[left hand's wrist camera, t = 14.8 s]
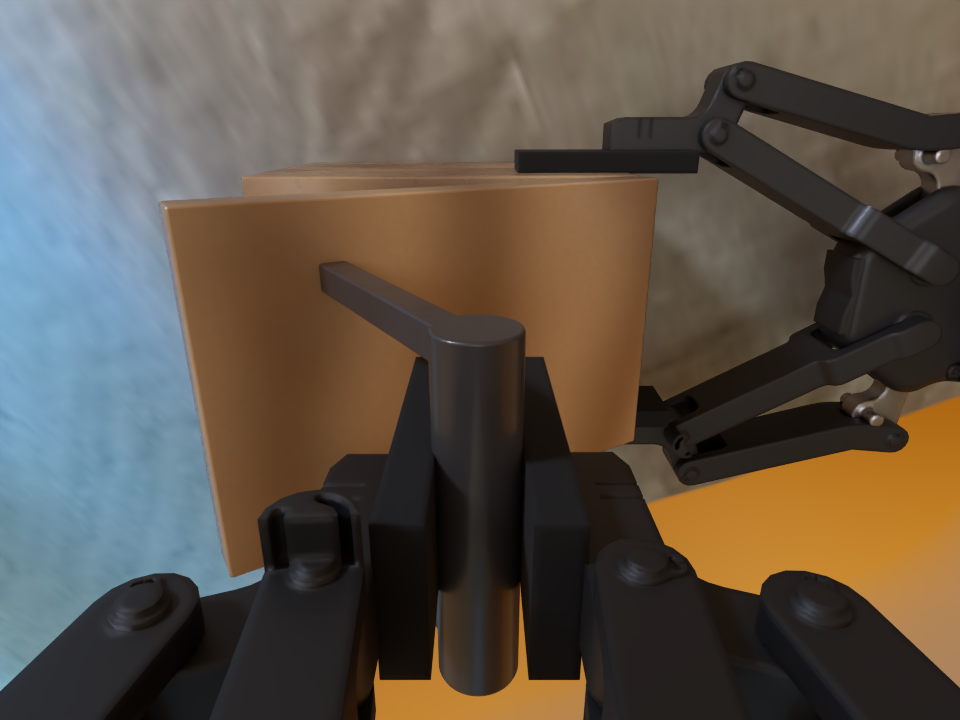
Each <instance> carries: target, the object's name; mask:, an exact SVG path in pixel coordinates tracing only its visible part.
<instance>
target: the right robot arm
mask: <svg viewBox="0 0 960 720" xmlns="http://www.w3.org/2000/svg"><path fill="white" fill-rule="evenodd" d="M704 89H705V91H704V94H703V96H702V98H701V100H700V102H699V104H698V106H697V108H696V109H695V110H694V111H693V112H692V113H691V114H689V115H688V116H685V117H624V118H616V119H614V120H612V121H609V122H607V123H604V131H603V146H602V150H515V168H514V169H515V170H516V171H517V172H518V173H697V172H698V163H699V156H701V157H702V158H704V159H705V160H707V161H709V162H710V163H712V164H714V165H715V166H717V167H719V168H720V169H722V170H723V171H725V172H727V173H728V174H730V175H732V176H733V177H735V178H736V179H738V180H740V181H741V182H743V183H745V184H746V185H748V186H750V187H751V188H753V189H754V190H756V191H758V192H759V193H761V194H763V195H764V196H766V197H767V198H769V199H771V200H772V201H774V202H776V203H777V204H779V205H781V206H782V207H784V208H785V209H787V210H789V211H790V212H792V213H794V214H795V215H797V216H799V217H800V218H802V219H803V220H805V221H807V222H808V223H810V225H811V226H812V227H813V228H815V229H817V230H818V231H820V232H821V233H823V234H825V235H826V236H828V237H830V238H831V239H833V240H834V241H836V242H838V243H837V244H836V246H835V248H834V250H827V255H826V260H825V265H824V275H825V288H824V290H823V292H822V294H821V296H820V298H819V300H818V303H817V306H816V311H815V316H814V321H815V322H817V323H815V324H813V325H811V326H808V327H806V328H804V329H802V330H800V331H798V332H796V333H794V334H792V335H791V336H790V338H789V341H788V342H787V343H785V344H783V345H781V346H779V347H777V348H775V349H773V350H771V351H769V352H766V353H764V354H762V355H760V356H758V357H756V358H754V359H752V360H750V361H747V362H745V363H743V364H741V365H739V366H737V367H735V368H733V369H731V370H728V371H726V372H724V373H722V374H720V375H718V376H716V377H714V378H712V379H709V380H707V381H705V382H703V383H701V384H699V385H697V386H695V387H693V388H690V389H688V390H686V391H684V392H682V393H680V394H678V395H676V396H674V397H671V398H669V399H667V400H665V401H662V399H661V398H660V396H659V395H658V393H657V392H656V390H655V389H654V387H653V386H639V390H638V401H637V412H636V422H635V433H634V440H633V441H632V442H629V443H626V444H657V445H661V446H663V452H664V454H665V456H666V458H667V460H668V461H669V463H670V465H671V467H672V469H673V470H674V472H675V474H676V475H677V477H678V479H679V481H680V482H681V483H683V484H685V485H696V484H701V483H705V482H710V481H714V480H718V479H723V478H727V477H732V476H736V475H741V474H745V473H750V472H754V471H759V470H763V469H767V468H772V467H776V466H781V465H785V464H790V463H794V462H799V461H803V460H808V459H812V458H816V457H821V456H825V455H830V454H834V453H839V452H843V451H847V450H865V451H878V452H897V451H899V450H901V449H902V448H903V447H905V446H906V444H907V442H908V438H909V435H908V433H907V431H906V430H904V429H903V428H902V427H900V426H899V425H898V424H897V422H898V419H899V417H900V414H901V411H902V408H903V405H904V403H905V400H906V397H907V394H908V392H912V391H916V390H919V389H921V388H923V387H925V386H927V385H930V384H933V383H936V382H940V381H955V382H960V112H956V113H932V114H923V113H919V112H916V111H913V110H910V109H906V108H903V107H900V106H896V105H893V104H890V103H887V102H883V101H880V100H877V99H873V98H870V97H867V96H864V95H860V94H857V93H854V92H850V91H847V90H844V89H841V88H837V87H834V86H831V85H827V84H824V83H821V82H818V81H814V80H811V79H808V78H804V77H801V76H798V75H795V74H791V73H788V72H785V71H781V70H778V69H775V68H772V67H768V66H765V65H762V64H758V63H755V62H751V61H744V62H740V63H736V64H733V65H729V66H725V67H721V68H718V69H715V70H713V71H712V72H711V73H710V74H709V75H708V77H707V78H706V80H705V85H704ZM743 110H745V111H748V112H752V113H755V114H759V115H762V116H765V117H769V118H772V119H775V120H779V121H782V122H786V123H789V124H792V125H796V126H799V127H802V128H806V129H809V130H813V131H816V132H819V133H823V134H826V135H829V136H833V137H836V138H840V139H843V140H846V141H850V142H853V143H856V144H860V145H863V146H867V147H872V148H879V149H895V150H896V152H895V158H896V160H897V161H899V164H900V166H901V167H902V168H904V169H905V170H910V171H914V172H916V173H918V175H919V176H920V178H921V186H920V187H918V188H916V189H915V190H913V191H911V192H910V193H908V194H907V195H905V196H904V197H902V198H900V199H899V200H897V201H896V202H894V203H893V204H891V205H889V206H888V207H886V208H885V209H883V210H882V211H879V210H877V209H875V208H872V207H870V206H867V205H865V204H863V203H861V202H859V201H858V200H856V199H855V198H853V197H852V196H850V195H848V194H847V193H845V192H844V191H842V190H840V189H839V188H837V187H836V186H834V185H833V184H831V183H829V182H828V181H826V180H825V179H823V178H821V177H820V176H818V175H817V174H815V173H813V172H812V171H810V170H809V169H807V168H806V167H804V166H802V165H801V164H799V163H798V162H796V161H794V160H793V159H791V158H790V157H788V156H787V155H785V154H783V153H782V152H780V151H779V150H777V149H775V148H774V147H772V146H771V145H769V144H768V143H766V142H764V141H763V140H761V139H760V138H758V137H756V136H755V135H753V134H752V133H750V132H748V131H747V130H745V129H744V128H742V127H741V126H739V125H737V123H738V121H739V119H740V117H741V115H742V113H743ZM833 347H834V348H835V349H837V350H835V349H832V348H833ZM865 374H868V375H869V376H871V377H872V378H873V379H874V382H873V384H872V385H871V386H870V388H868V389H867V390H866V391H863V392H860V393H854V394H850V393H845V394H843V395H842V396H841V397H840V402H821V403H815V404H810V405H806V406H801V407H797V408H793V409H788V410H784V411H780V412H775V413H771V414H767V415H763V416H758V415H760V414H763V413H765V412H767V411H769V410H771V409H774V408H776V407H778V406H780V405H782V404H784V403H787V402H789V401H791V400H793V399H795V398H798V397H800V396H802V395H804V394H806V393H809V392H811V391H813V390H815V389H817V388H819V387H822V386H825V385H834V386H837V385H842V384H845V383H847V382H850V381H852V380H854V379H856V378H858V377H861V376H863V375H865ZM756 416H758V417H756Z"/></svg>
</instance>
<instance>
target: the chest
mask: <svg viewBox="0 0 960 720" xmlns="http://www.w3.org/2000/svg"><path fill="white" fill-rule="evenodd" d="M514 168H515V162H385V163H311V164H305V165H300V166H295V167H290V168H285V169H280V170H275V171H270V172H265V173H260V174H255V175H250V176H244V177H242V186H243V193H244V197H247V196H266V195H285V194H303V193H322V192H341V191H360V190H378V189H397V188H416V187H434V186H453V185H472V184H491V183H509V182H528V181H547V180H565V179H584V178H603V177H622V176H638V175H635V174H631V173H518V172H517V171H516V170H515V169H514ZM638 177H639V176H638Z"/></svg>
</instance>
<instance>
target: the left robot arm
mask: <svg viewBox="0 0 960 720" xmlns="http://www.w3.org/2000/svg"><path fill="white" fill-rule="evenodd" d="M257 521H258V528H259V535H260V541H261V548H262V555H263V561H264V568H265V573H264V575H263V578H262V580H261V581H259V582H257V583H255V584H252V585H250V586H246V587H243V588H240V589H236V590H232V591H228V592H223V593H219V594H215V595H210V596H206V597H201V598H200V596H199V591H198V587H197V586H196V585H195V583H194V582H193V581H192V580H191V579H190V578H188V577H185V576H182V575H178V574H175V573H164V574H152V575H148V576H144V577H140V578H136V579H132V580H130V581H128V582H126V583H124V584H122V585H119V586H117V587H115V588H113V589H111V590H110V591H109V592H107V593H106V594H104V595H103V596H102V597H100V598H99V599H98V600H96V601H95V602H94V603H93V604H92V605H91V606H90V607H88V608H87V609H86V610H85V611H84V612H83V613H82V614H81V615H80V616H79V617H78V618H77V619H76V620H75V621H74V622H73V623H72V624H71V625H70V626H69V627H67V628H66V629H65V630H64V631H63V632H62V633H61V634H60V635H59V636H58V637H57V638H56V639H55V640H54V641H53V642H52V643H51V644H50V645H49V646H47V647H46V648H45V649H44V650H43V651H42V652H41V653H40V654H39V655H38V656H37V657H36V658H35V659H34V660H33V661H32V662H31V663H30V664H29V665H28V666H26V667H25V668H24V669H23V670H22V671H21V672H20V673H19V674H18V675H17V676H16V677H15V678H14V679H13V680H12V681H11V682H10V683H9V684H8V685H7V686H5V687H4V688H3V689H2V690H1V691H0V720H375V714H376V706H375V694H374V677H375V672H376V667H377V661H378V662H379V675H380V680H431V671H432V660H433V648H434V637H435V626H436V615H437V603H438V592H439V583H438V549H437V516H436V482H435V455H434V454H433V452H432V449H431V421H430V392H429V363H428V361H427V360H426V359H424V358H423V357H416V358H415V362H414V365H413V369H412V372H411V376H410V379H409V383H408V387H407V390H406V394H405V397H404V401H403V404H402V408H401V411H400V415H399V418H398V422H397V425H396V429H395V432H394V436H393V440H392V443H391V447H390V450H389V454H347V455H345V456H344V457H343V458H342V459H341V460H339V461H338V462H337V463H336V464H334V465H333V466H332V467H331V468H330V470H329V472H328V474H327V476H326V479H325V481H324V483H323V487H322V488H321V490H311V491H304V492H298V493H295V494H292V495H290V496H287V497H284V498H281V499H279V500H278V501H276V502H275V503H273V504H272V505H270V506H268V507H267V508H266V509H265V510H264V511H263V513H262V514H261V515H260V516H259V518H258V519H257ZM520 587H521V598H522V609H523V620H524V632H525V643H526V654H527V666H528V677H529V680H580V668H581V656H582V661H583V666H584V672H585V677H586V694H585V706H584V719H583V720H960V688H959V687H958V686H957V685H956V684H955V683H954V682H953V681H952V680H951V679H950V678H949V677H948V676H947V675H946V674H945V673H943V672H942V671H941V670H940V669H939V668H938V667H937V666H936V665H935V664H934V663H933V662H932V661H931V660H930V659H929V658H928V657H926V656H925V655H924V654H923V653H922V652H921V651H920V650H919V649H918V648H917V647H916V646H915V645H914V644H913V643H912V642H911V641H910V640H908V639H907V638H906V637H905V636H904V635H903V634H902V633H901V632H900V631H899V630H898V629H897V628H896V627H895V626H894V625H893V624H892V623H890V622H889V621H888V620H887V619H886V618H885V617H884V616H883V615H882V614H881V613H880V612H879V611H878V610H877V609H876V608H875V607H874V606H872V605H871V604H870V603H869V602H868V601H867V600H866V599H865V598H863V597H862V596H861V595H859V594H858V593H857V592H855V591H854V590H853V589H851V588H850V587H849V586H847V585H844V584H842V583H840V582H838V581H836V580H834V579H831V578H829V577H827V576H823V575H819V574H815V573H811V572H807V571H782V572H779V573H776V574H773V575H770V576H769V577H768V579H767V580H766V581H765V582H764V583H763V584H762V588H761V592H760V595H757V594H752V593H748V592H743V591H739V590H734V589H730V588H725V587H722V586H718V585H715V584H712V583H708V582H706V581H704V580H702V579H700V578H698V577H697V575H696V572H695V570H694V568H693V567H692V565H691V564H690V562H689V561H688V559H687V558H686V557H684V556H683V555H681V554H680V553H679V552H677V551H676V550H675V549H673V548H671V547H669V546H666V545H665V544H664V542H663V540H662V538H661V535H660V533H659V531H658V529H657V527H656V524H655V522H654V520H653V518H652V515H651V513H650V511H649V509H648V506H647V504H646V502H645V500H644V499H643V495H642V493H641V491H640V489H639V486H638V485H637V482H636V480H635V477H634V475H633V473H632V471H631V468H630V466H629V465H628V464H626V463H625V462H624V461H623V460H621V459H620V458H619V457H618V456H617V455H615V454H614V453H613V452H570V449H569V445H568V442H567V438H566V434H565V431H564V427H563V424H562V420H561V417H560V413H559V410H558V406H557V403H556V399H555V395H554V392H553V388H552V385H551V381H550V378H549V374H548V371H547V367H546V364H545V360H544V357H525V393H524V435H523V476H522V518H521V559H520Z"/></svg>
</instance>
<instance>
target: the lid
mask: <svg viewBox="0 0 960 720" xmlns="http://www.w3.org/2000/svg"><path fill="white" fill-rule="evenodd" d="M657 190H658V179H657V178H650V177H638V176H622V177H603V178H584V179H565V180H547V181H528V182H509V183H491V184H472V185H453V186H434V187H416V188H397V189H378V190H360V191H341V192H322V193H303V194H285V195H266V196H247V197H229V198H210V199H191V200H172V201H162V202H159V210H160V216H161V221H162V227H163V232H164V238H165V243H166V249H167V254H168V260H169V265H170V271H171V276H172V282H173V287H174V293H175V298H176V304H177V309H178V315H179V320H180V326H181V331H182V337H183V342H184V348H185V353H186V359H187V364H188V370H189V375H190V381H191V386H192V392H193V397H194V403H195V408H196V414H197V419H198V425H199V430H200V436H201V441H202V446H203V452H204V457H205V463H206V468H207V474H208V479H209V485H210V490H211V496H212V501H213V507H214V512H215V518H216V523H217V529H218V534H219V540H220V545H221V551H222V554H223V557H224V560H225V563H226V566H227V569H228V572H229V575H230V576H231V577H236V576H239V575H242V574H245V573H247V572H250V571H253V570H256V569H259V568H262V567H264V561H263V555H262V548H261V541H260V535H259V528H258V521H257V519H258V518H259V516H260V515H261V514H262V513H263V511H264V510H265V509H266V508H267V507H268V506H270V505H272V504H273V503H275V502H276V501H278V500H279V499H281V498H284V497H287V496H290V495H292V494H295V493H298V492H304V491H311V490H321V488H322V487H323V483H324V481H325V479H326V476H327V474H328V472H329V470H330V468H331V467H332V466H333V465H334V464H336V463H337V462H338V461H339V460H341V459H342V458H343V457H344V456H345V455H347V454H389V450H390V447H391V443H392V440H393V436H394V432H395V429H396V425H397V422H398V418H399V415H400V411H401V408H402V404H403V401H404V397H405V394H406V390H407V387H408V383H409V379H410V376H411V372H412V369H413V365H414V362H415V358H416V357H423V358H424V359H426V360H427V361H428V363H429V392H430V421H431V449H432V452H433V454H434V455H435V482H436V516H437V549H438V583H439V592H438V603H437V615H436V627H437V628H438V649H439V668H440V672H441V675H442V677H443V678H444V680H445V681H446V682H447V684H448V685H449V686H450V687H452V688H453V689H454V690H456V691H458V692H460V693H463V694H466V695H470V696H486V695H491V694H494V693H496V692H499V691H500V690H502V689H504V688H505V687H506V686H507V685H508V684H509V683H510V682H511V681H512V679H513V678H514V676H515V674H516V672H517V668H518V643H519V601H520V559H521V518H522V476H523V435H524V393H525V357H544V360H545V364H546V367H547V371H548V374H549V378H550V381H551V385H552V388H553V392H554V395H555V399H556V403H557V406H558V410H559V413H560V417H561V420H562V424H563V427H564V431H565V434H566V438H567V442H568V445H569V449H570V452H602V451H605V450H608V449H611V448H614V447H617V446H620V445H623V444H626V443H629V442H632V441H633V440H634V433H635V422H636V412H637V401H638V390H639V380H640V369H641V359H642V348H643V338H644V327H645V317H646V306H647V295H648V285H649V274H650V264H651V253H652V243H653V232H654V222H655V211H656V200H657Z"/></svg>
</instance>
